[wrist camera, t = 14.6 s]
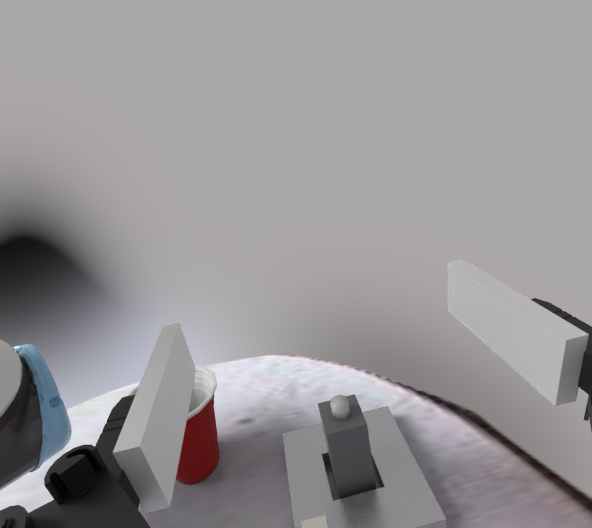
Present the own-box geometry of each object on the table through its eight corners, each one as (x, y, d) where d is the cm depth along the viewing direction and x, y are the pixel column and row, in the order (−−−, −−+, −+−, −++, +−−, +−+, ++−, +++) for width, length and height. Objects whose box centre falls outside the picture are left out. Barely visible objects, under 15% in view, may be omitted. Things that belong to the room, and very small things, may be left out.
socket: (302, 573, 31) (297, 556, 30) (285, 444, 44) (281, 430, 43) (446, 532, 32) (446, 514, 31) (388, 417, 45) (387, 402, 44)
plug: (340, 502, 36) (324, 423, 32) (331, 468, 40) (315, 392, 36) (376, 492, 36) (365, 412, 32) (364, 459, 40) (352, 383, 36)
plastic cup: (256, 445, 45) (233, 373, 40) (191, 523, 37) (154, 445, 33) (203, 416, 52) (179, 351, 47) (139, 477, 44) (102, 407, 39)
